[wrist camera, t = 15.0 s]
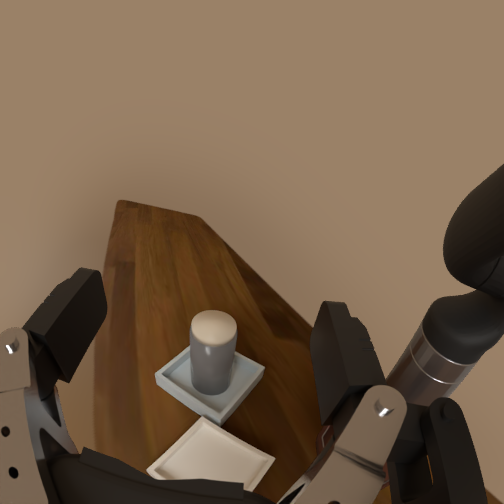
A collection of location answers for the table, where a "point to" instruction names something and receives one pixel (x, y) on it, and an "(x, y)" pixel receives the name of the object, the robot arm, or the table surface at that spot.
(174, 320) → the table surface
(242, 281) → the table surface
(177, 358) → the glazed dish
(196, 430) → the tray
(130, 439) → the table surface
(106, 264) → the table surface
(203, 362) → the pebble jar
